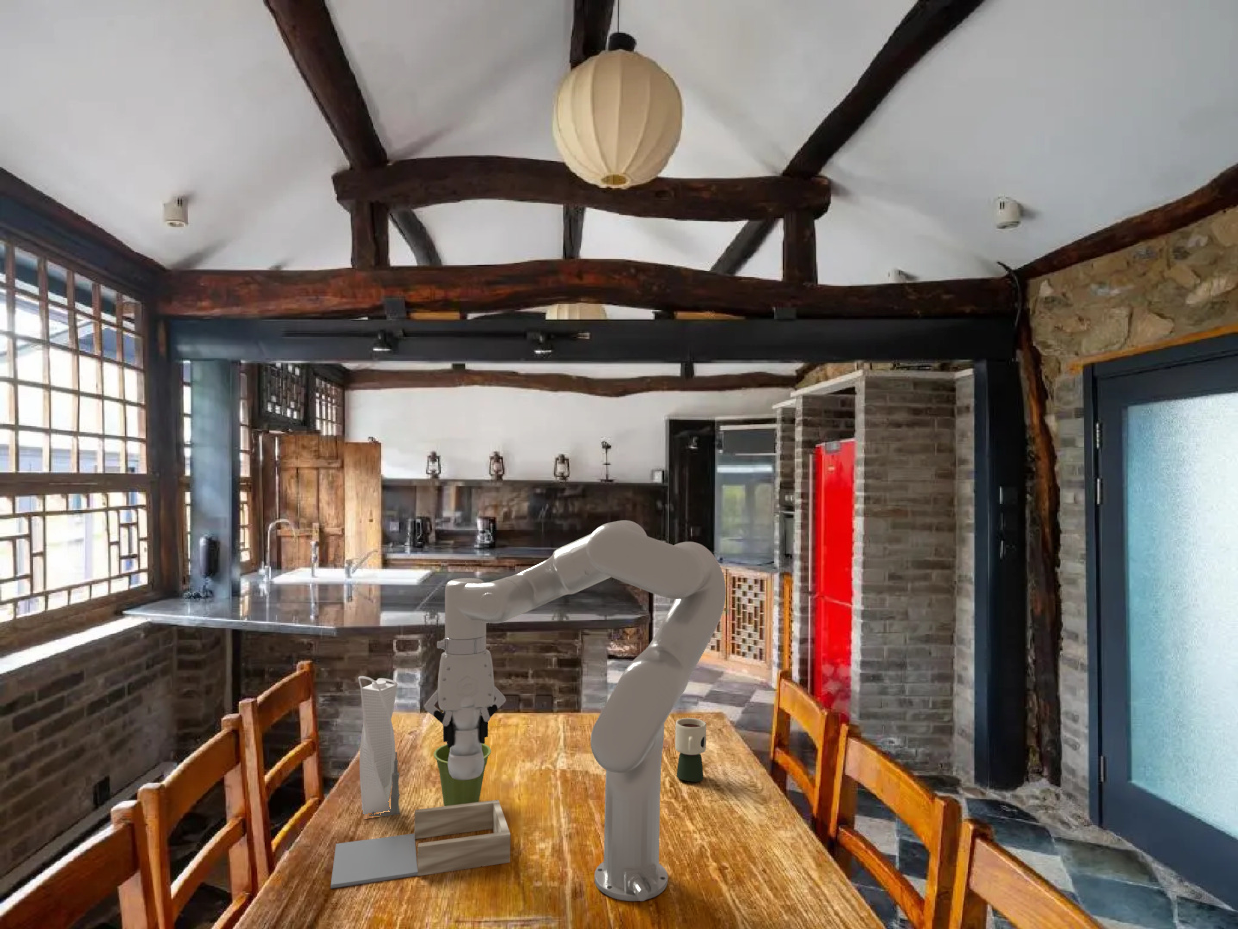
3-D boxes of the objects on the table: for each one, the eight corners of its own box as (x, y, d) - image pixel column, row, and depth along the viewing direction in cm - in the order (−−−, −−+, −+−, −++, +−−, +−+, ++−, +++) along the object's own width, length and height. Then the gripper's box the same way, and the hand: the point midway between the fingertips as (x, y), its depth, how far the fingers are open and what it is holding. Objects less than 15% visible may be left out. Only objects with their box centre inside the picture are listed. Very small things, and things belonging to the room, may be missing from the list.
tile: (417, 875, 124) (417, 872, 124) (330, 888, 120) (330, 885, 120) (414, 836, 137) (414, 833, 137) (336, 847, 133) (336, 843, 133)
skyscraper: (356, 822, 143) (359, 681, 144) (353, 805, 150) (357, 671, 151) (399, 815, 146) (403, 678, 147) (395, 799, 154) (398, 668, 154)
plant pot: (420, 812, 147) (422, 757, 148) (453, 789, 159) (454, 738, 159) (470, 823, 143) (471, 766, 144) (500, 798, 154) (501, 745, 155)
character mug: (706, 790, 160) (707, 731, 161) (674, 788, 161) (675, 730, 161) (704, 770, 171) (705, 715, 172) (674, 769, 172) (675, 714, 172)
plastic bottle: (476, 786, 129) (476, 674, 130) (441, 783, 131) (441, 673, 131) (489, 772, 136) (489, 666, 136) (456, 769, 137) (456, 664, 138)
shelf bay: (509, 862, 129) (510, 834, 129) (417, 876, 124) (418, 847, 124) (497, 825, 143) (498, 799, 143) (414, 836, 138) (414, 810, 138)
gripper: (419, 653, 128) (418, 756, 127) (514, 646, 133) (514, 744, 133) (417, 644, 135) (417, 742, 134) (508, 638, 140) (508, 731, 140)
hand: (465, 742), depth 133 cm, fingers closed on plastic bottle, 5 cm apart
